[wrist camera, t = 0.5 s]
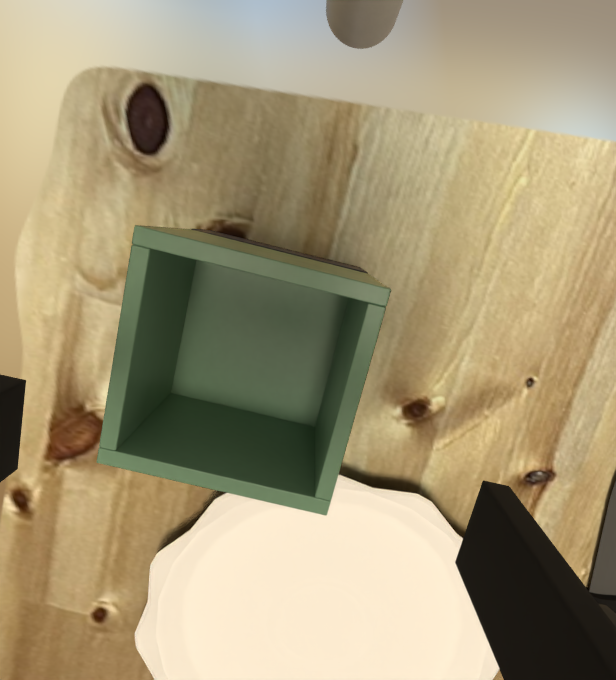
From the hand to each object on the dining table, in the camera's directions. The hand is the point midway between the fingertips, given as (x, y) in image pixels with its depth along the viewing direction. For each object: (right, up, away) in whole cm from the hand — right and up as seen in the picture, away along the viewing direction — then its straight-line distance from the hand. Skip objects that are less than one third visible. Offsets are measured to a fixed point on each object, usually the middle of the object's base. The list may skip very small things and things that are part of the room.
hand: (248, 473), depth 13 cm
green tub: (-1, +4, +16) cm, 17 cm away
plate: (+3, -20, +27) cm, 33 cm away
